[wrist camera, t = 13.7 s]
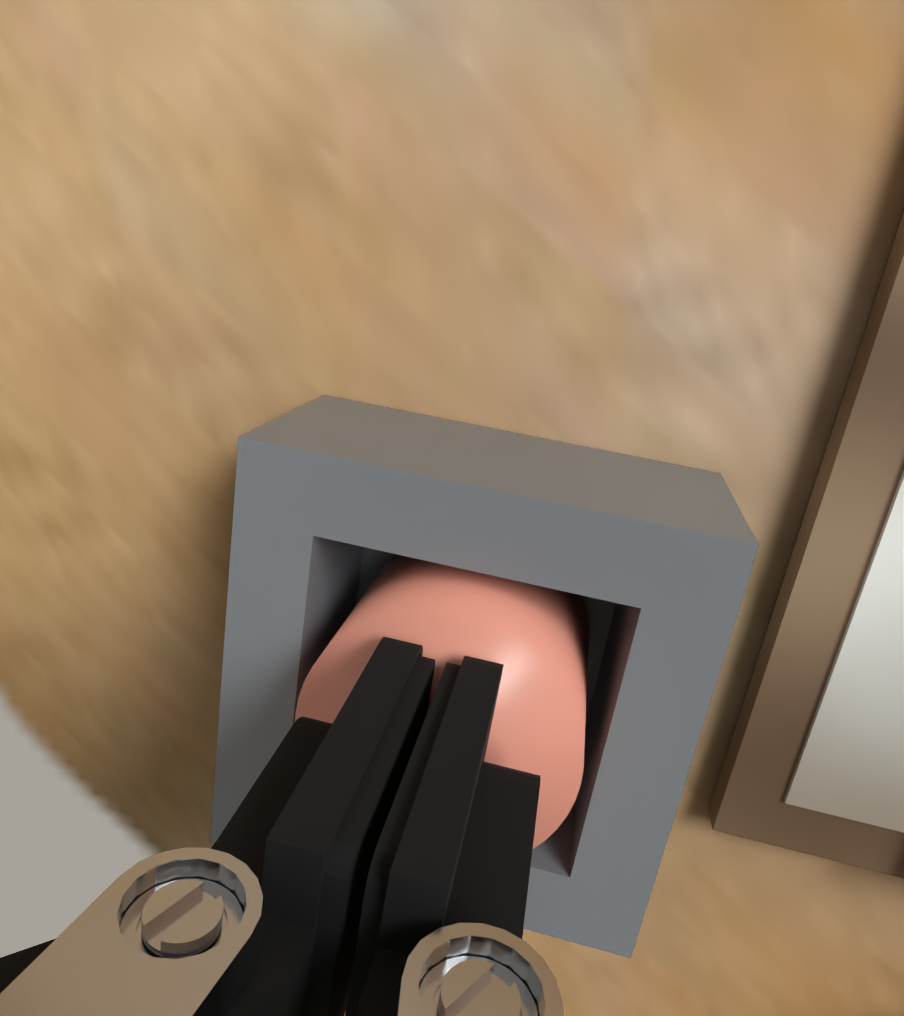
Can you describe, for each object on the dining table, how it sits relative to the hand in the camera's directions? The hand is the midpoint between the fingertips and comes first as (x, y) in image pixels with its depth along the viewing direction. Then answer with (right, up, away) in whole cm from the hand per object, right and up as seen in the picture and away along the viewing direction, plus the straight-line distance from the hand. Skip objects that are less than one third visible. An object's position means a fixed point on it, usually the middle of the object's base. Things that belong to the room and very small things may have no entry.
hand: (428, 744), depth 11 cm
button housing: (+1, +1, +4) cm, 4 cm away
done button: (+1, +1, +3) cm, 4 cm away
